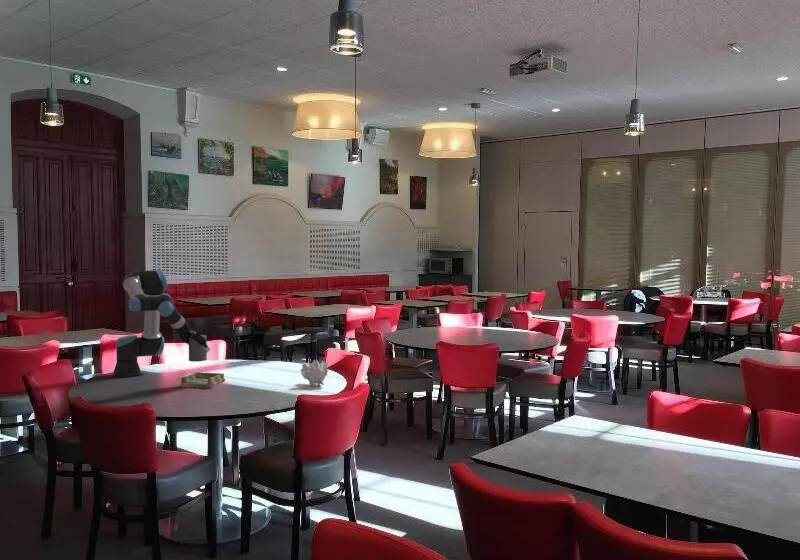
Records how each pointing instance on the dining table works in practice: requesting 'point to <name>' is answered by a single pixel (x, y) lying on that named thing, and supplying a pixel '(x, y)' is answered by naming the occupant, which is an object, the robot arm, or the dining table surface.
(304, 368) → the grey spiky coral
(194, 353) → the pillar candle
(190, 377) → the wooden tray
